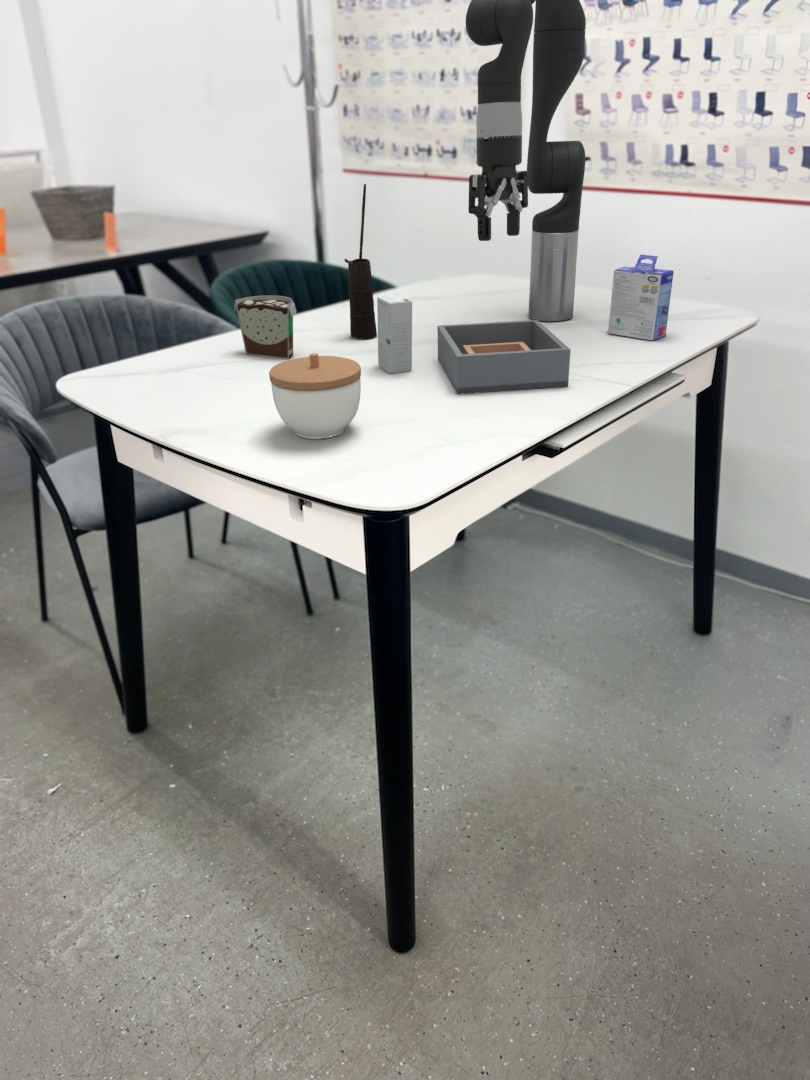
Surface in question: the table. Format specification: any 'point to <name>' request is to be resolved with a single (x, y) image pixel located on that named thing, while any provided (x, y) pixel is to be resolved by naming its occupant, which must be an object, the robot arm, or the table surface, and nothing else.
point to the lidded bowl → (316, 394)
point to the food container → (267, 325)
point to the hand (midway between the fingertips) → (499, 238)
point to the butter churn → (361, 292)
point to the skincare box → (394, 333)
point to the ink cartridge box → (640, 300)
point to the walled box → (502, 356)
